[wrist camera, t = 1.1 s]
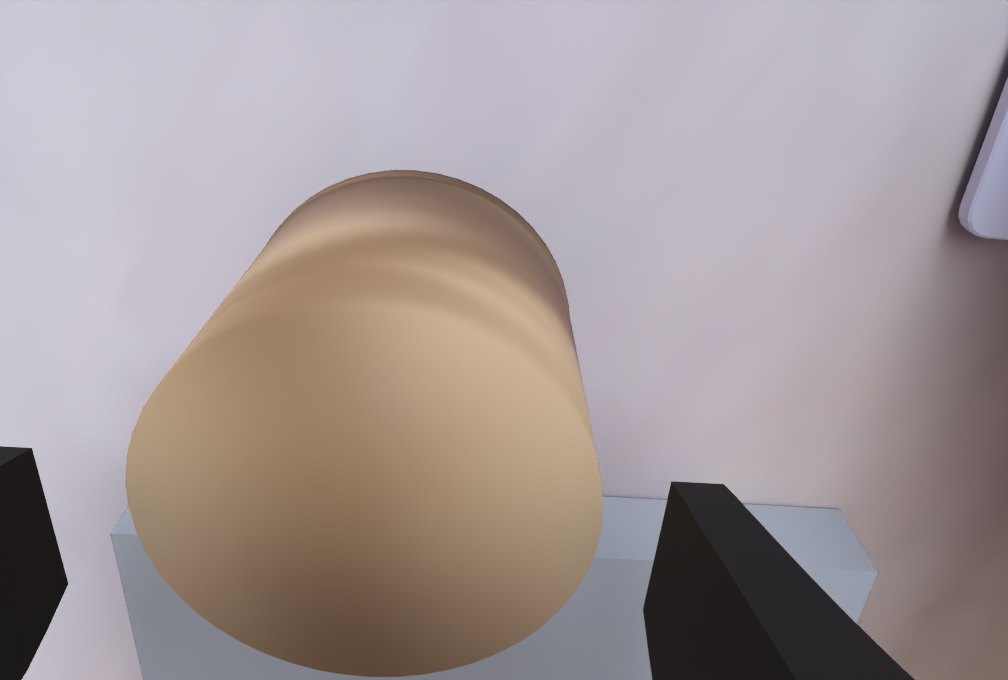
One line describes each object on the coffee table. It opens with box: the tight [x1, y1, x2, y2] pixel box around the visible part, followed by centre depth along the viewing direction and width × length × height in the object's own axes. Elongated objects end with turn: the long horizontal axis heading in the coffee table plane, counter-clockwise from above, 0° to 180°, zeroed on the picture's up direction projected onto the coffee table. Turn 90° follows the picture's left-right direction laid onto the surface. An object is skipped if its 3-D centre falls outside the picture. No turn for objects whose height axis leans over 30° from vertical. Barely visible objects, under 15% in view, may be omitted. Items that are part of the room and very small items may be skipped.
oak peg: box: [126, 170, 604, 677], centre depth 12 cm, size 6×6×7 cm
